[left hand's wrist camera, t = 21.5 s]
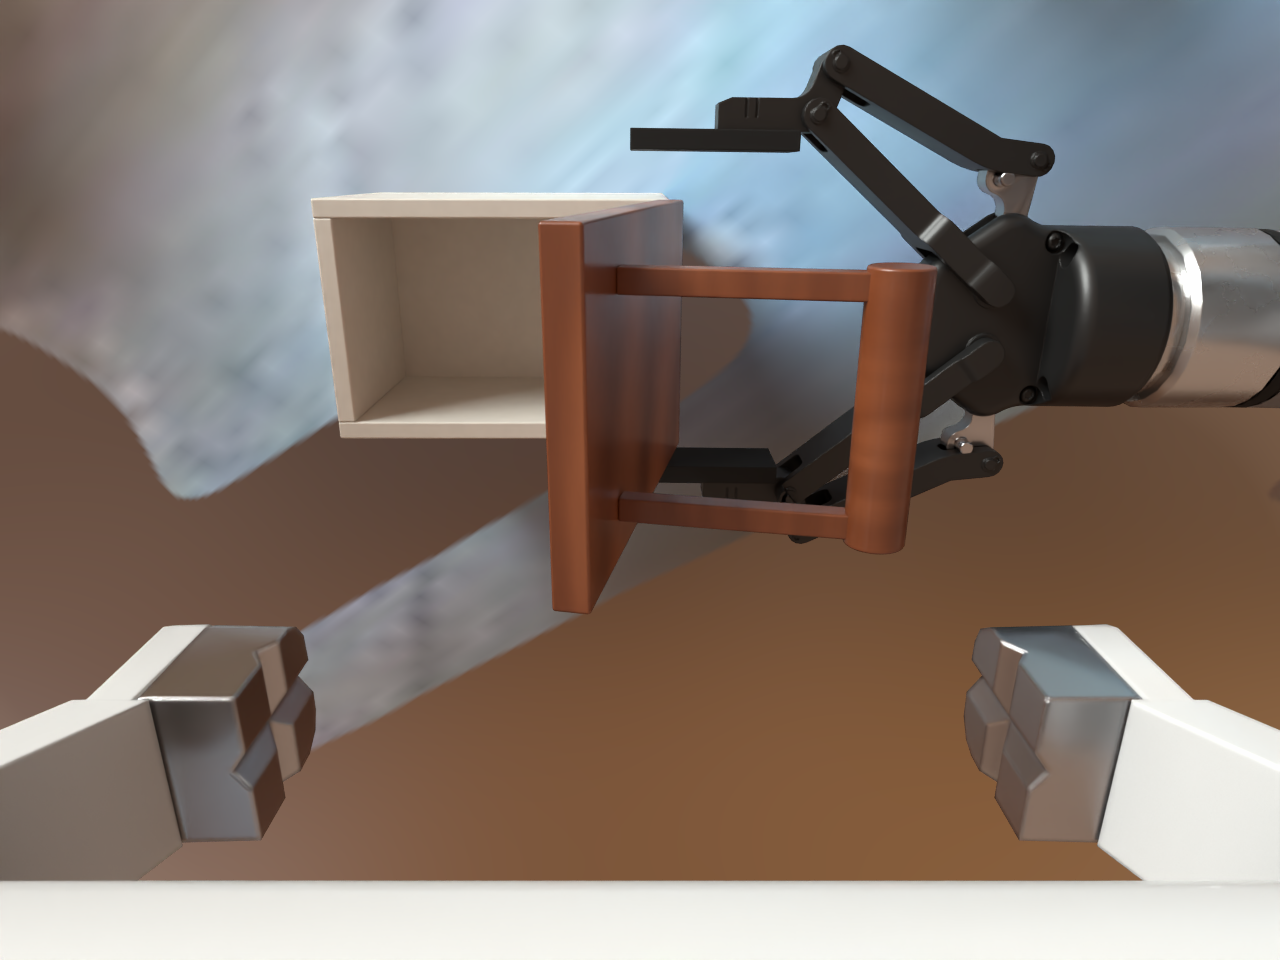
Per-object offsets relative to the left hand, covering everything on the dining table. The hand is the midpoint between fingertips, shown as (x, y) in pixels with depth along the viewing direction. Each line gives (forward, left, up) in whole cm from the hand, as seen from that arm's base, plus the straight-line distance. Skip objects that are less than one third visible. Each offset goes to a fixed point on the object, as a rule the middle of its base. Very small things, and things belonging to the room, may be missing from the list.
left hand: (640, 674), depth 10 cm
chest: (-6, -2, -34) cm, 34 cm away
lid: (-1, 0, -17) cm, 17 cm away
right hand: (-1, 0, -27) cm, 27 cm away
